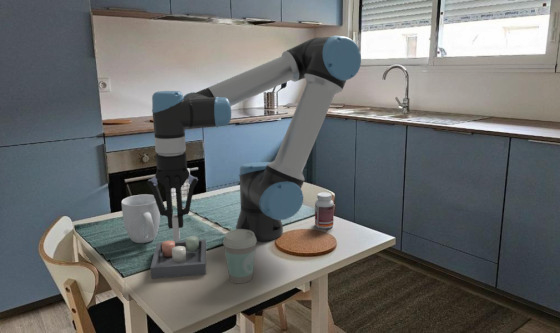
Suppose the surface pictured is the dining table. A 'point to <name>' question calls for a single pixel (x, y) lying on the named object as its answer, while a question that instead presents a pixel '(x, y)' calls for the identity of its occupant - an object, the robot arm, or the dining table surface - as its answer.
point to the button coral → (167, 248)
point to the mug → (141, 217)
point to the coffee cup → (240, 254)
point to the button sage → (192, 244)
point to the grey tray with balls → (190, 266)
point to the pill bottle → (324, 211)
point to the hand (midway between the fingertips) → (176, 238)
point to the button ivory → (179, 254)
